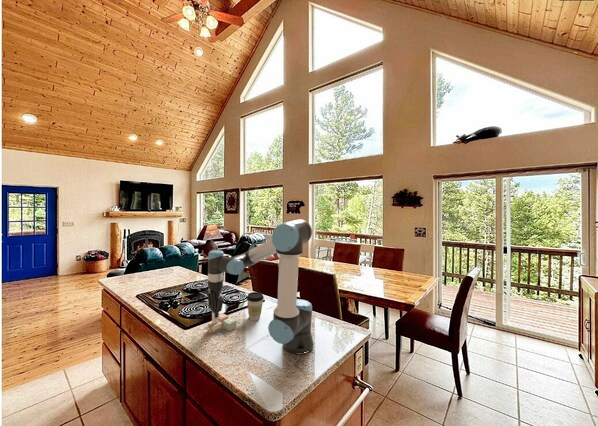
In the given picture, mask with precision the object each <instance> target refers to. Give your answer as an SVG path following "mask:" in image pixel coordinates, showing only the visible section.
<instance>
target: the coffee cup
mask: <svg viewBox="0 0 598 426" xmlns="http://www.w3.org/2000/svg"><path fill="white" fill-rule="evenodd" d="M264 299H265V297H264V295H263V293H261V292H260V291H253V292H250V293H248V294H247V296H246V300H247V301H246V302H247V304H246V305H247V312H248V319H249V320H250V321H258V320H260V319H261V314H262V308H263V304H264V303H263V301H264Z"/></svg>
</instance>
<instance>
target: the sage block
mask: <svg viewBox="0 0 598 426" xmlns="http://www.w3.org/2000/svg"><path fill="white" fill-rule="evenodd" d="M237 321H238V320H237V319H234V318H232V317H231V316H230V317H228V319H226V320H224V321H223V328H225V329H227V330H228V332H229V331H230V332H231V331H232V330H234V329H236V328H237Z"/></svg>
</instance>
